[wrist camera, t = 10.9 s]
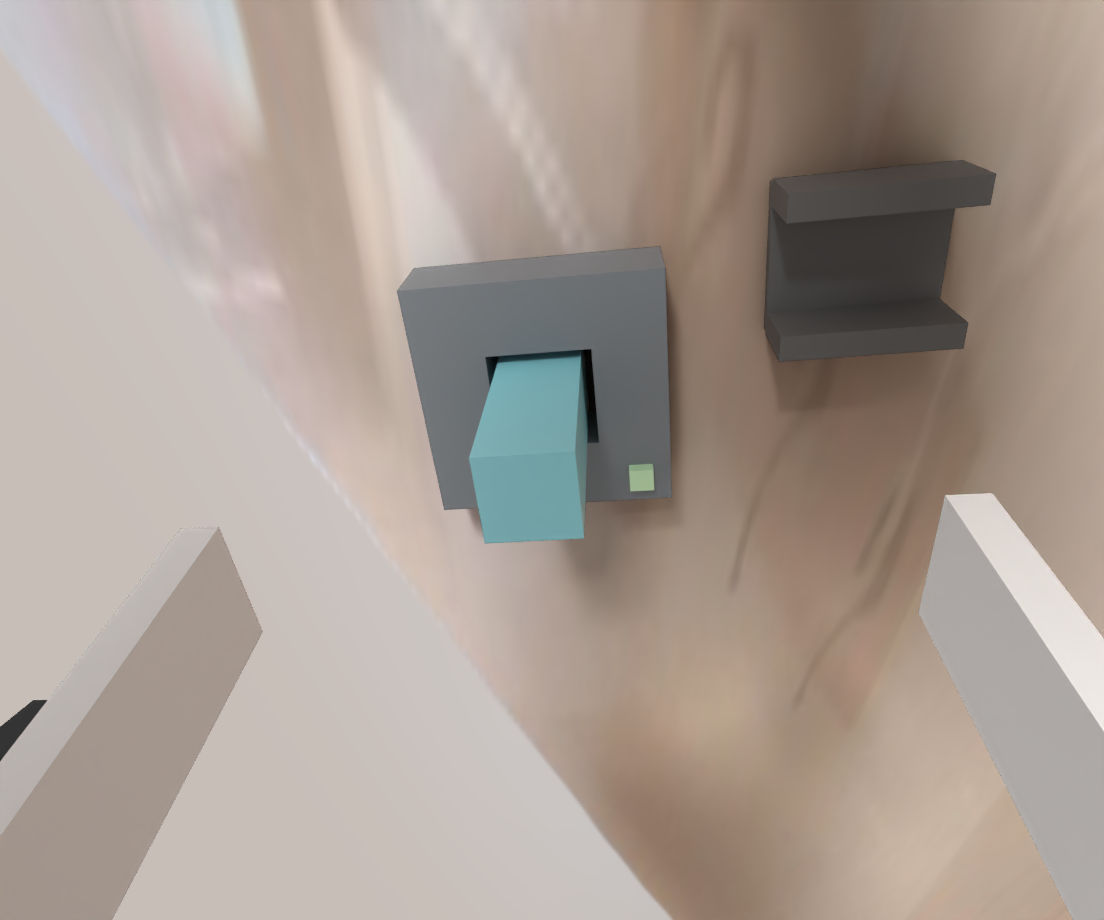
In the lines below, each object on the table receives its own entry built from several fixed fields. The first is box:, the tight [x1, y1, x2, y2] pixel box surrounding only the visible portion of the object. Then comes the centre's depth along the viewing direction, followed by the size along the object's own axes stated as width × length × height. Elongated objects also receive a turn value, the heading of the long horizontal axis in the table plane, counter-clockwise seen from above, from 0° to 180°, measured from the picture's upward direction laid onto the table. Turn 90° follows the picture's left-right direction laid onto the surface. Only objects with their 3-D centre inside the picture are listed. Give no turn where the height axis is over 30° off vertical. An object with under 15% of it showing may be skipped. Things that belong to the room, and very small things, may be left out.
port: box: [397, 246, 672, 510], centre depth 37 cm, size 12×12×4 cm
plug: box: [469, 350, 589, 543], centre depth 34 cm, size 4×4×12 cm
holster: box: [764, 160, 996, 362], centre depth 33 cm, size 7×8×4 cm
